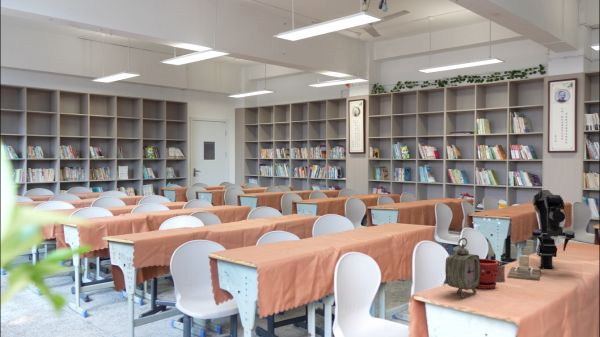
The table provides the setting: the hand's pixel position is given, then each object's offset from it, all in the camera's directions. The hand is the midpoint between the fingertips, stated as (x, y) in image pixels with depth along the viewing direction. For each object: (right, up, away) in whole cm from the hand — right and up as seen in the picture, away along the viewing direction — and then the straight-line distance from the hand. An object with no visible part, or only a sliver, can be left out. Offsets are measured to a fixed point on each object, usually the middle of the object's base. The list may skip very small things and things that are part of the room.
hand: (553, 250), depth 245 cm
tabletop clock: (-57, -14, -32) cm, 66 cm away
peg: (-16, -11, -2) cm, 20 cm away
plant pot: (-43, -14, -19) cm, 49 cm away
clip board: (-14, -12, +1) cm, 19 cm away
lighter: (-33, -13, -11) cm, 37 cm away
